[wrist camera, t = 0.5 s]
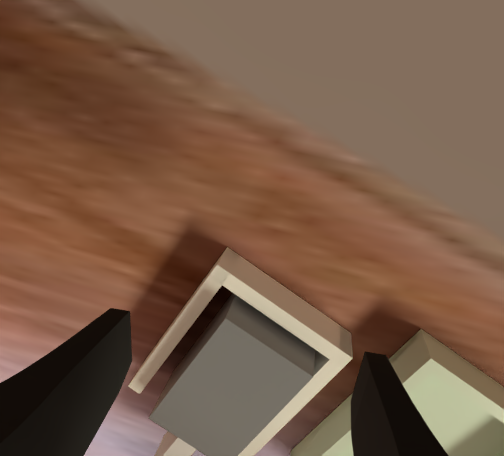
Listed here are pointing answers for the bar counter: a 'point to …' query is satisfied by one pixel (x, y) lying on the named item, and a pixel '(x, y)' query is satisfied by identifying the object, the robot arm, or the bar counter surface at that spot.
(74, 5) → the bar counter surface
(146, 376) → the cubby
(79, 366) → the robot arm
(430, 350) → the tray
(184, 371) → the block on a stick
